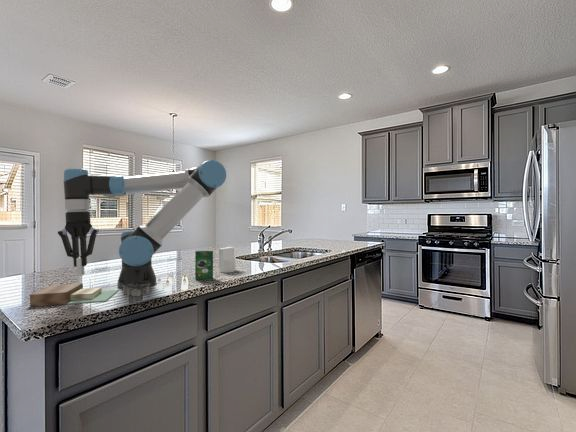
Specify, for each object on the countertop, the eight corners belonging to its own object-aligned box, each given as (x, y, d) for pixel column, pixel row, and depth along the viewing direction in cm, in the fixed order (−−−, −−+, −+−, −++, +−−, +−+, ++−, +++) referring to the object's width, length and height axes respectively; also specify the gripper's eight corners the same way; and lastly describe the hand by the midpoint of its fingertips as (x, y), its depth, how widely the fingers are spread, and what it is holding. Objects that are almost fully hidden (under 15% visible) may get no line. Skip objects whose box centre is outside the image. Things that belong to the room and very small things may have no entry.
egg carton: (152, 293, 123) (152, 283, 123) (132, 298, 117) (132, 287, 117) (139, 289, 129) (139, 279, 129) (120, 293, 124) (120, 283, 123)
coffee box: (213, 277, 149) (212, 249, 149) (213, 278, 147) (213, 250, 146) (195, 279, 147) (194, 250, 147) (195, 280, 144) (194, 251, 144)
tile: (101, 292, 123) (101, 287, 123) (92, 298, 114) (92, 293, 114) (81, 293, 121) (81, 288, 121) (70, 300, 112) (70, 294, 112)
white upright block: (227, 273, 160) (226, 249, 159) (214, 271, 164) (213, 248, 164) (239, 270, 167) (238, 247, 167) (226, 268, 172) (225, 246, 172)
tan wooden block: (83, 293, 123) (82, 283, 123) (67, 303, 110) (66, 292, 110) (50, 295, 121) (50, 285, 121) (30, 306, 107) (29, 294, 107)
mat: (118, 290, 127) (118, 289, 127) (106, 301, 112) (106, 300, 112) (85, 292, 125) (85, 291, 125) (67, 304, 109) (67, 303, 109)
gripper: (100, 210, 122) (103, 271, 122) (62, 211, 119) (65, 274, 119) (93, 210, 114) (97, 275, 115) (52, 211, 111) (55, 278, 112)
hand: (80, 275), depth 117 cm, fingers closed
